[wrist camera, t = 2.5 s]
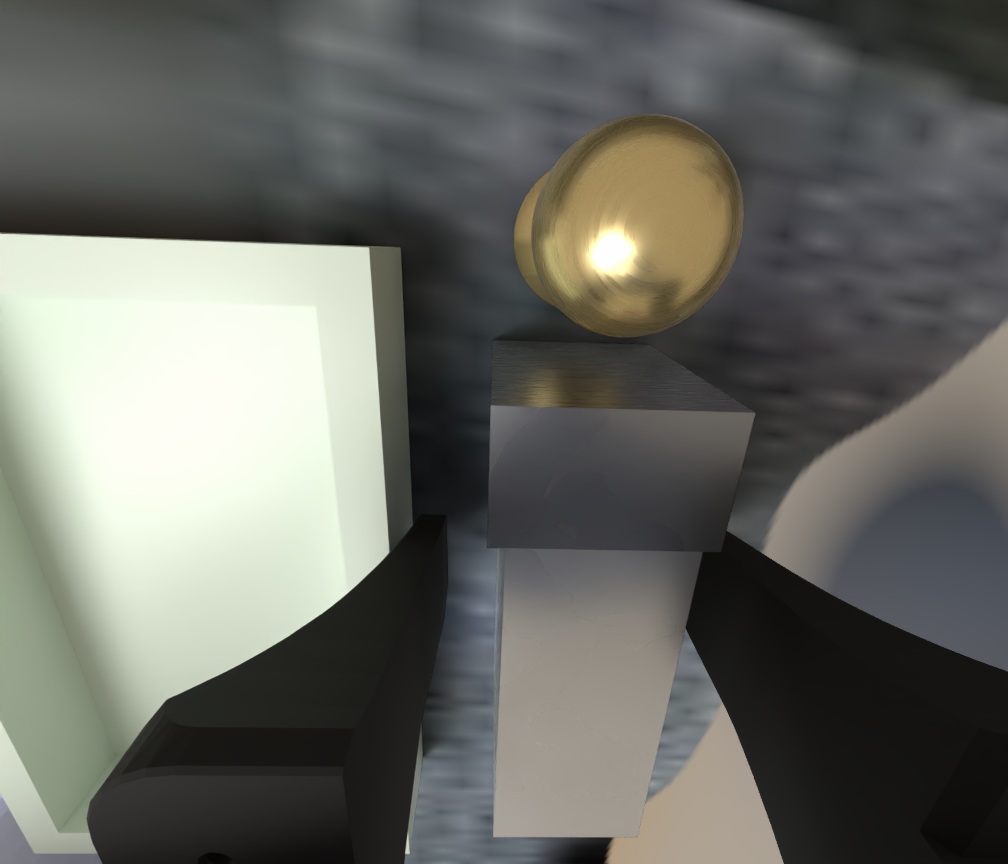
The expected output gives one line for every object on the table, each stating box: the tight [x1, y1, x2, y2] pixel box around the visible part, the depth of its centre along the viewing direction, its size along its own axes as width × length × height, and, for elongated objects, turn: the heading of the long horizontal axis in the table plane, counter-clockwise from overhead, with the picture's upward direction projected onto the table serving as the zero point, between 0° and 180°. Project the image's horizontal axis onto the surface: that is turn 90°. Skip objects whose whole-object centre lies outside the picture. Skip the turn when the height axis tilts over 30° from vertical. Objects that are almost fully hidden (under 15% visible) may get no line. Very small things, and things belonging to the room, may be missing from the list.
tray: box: [0, 232, 423, 854], centre depth 12 cm, size 17×11×3 cm, turn 178°
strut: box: [487, 340, 755, 837], centre depth 11 cm, size 10×4×5 cm, turn 178°
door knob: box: [513, 114, 744, 338], centre depth 8 cm, size 3×3×6 cm
